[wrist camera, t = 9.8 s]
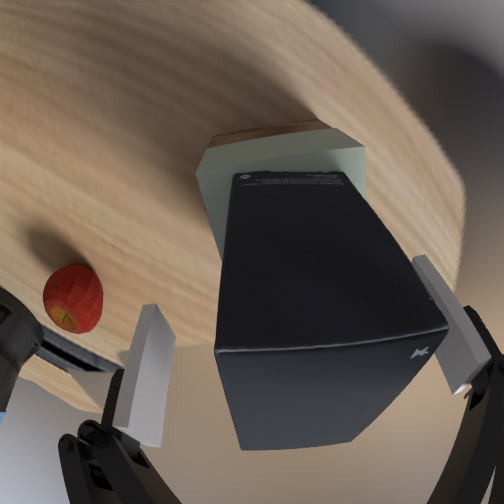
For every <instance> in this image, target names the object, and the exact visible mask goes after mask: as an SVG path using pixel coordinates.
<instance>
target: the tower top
mask: <svg viewBox="0 0 504 504" xmlns="http://www.w3.org/2000/svg"><path fill="white" fill-rule="evenodd" d="M266 170H267V171H271V172H284V171H287V172H318V171H321V172H330V171H338V172H342V171H343V172H345V174H346V175H347V176H348V178H349V179H350V181H351V182H352V183H353V184H354V186H355V187H356V189H357V190H358V191H359V192H360V194H361V195H362V196H363V198H364V199H366V171H365V146H363V145H362V144H360V143H359V142H357V141H356V140H354V139H353V138H351V137H350V136H348V135H347V134H345V133H343V132H342V131H340V130H339V129H337V128H332V129H322V130H313V131H304V132H297V133H289V134H282V135H276V136H269V137H263V138H258V139H252V140H246V141H241V142H236V143H231V144H226V145H221V146H217V147H212V148H208V149H206V151H205V153H204V155H203V157H202V159H201V162H200V164H199V166H198V168H197V170H196V172H195V174H196V178H197V181H198V185H199V188H200V191H201V195H202V198H203V202H204V205H205V208H206V212H207V215H208V218H209V222H210V225H211V228H212V231H213V235H214V238H215V241H216V244H217V248H218V251H219V254H220V257H221V260H223V251H224V242H225V232H226V223H227V213H228V207H229V198H230V192H231V185H232V178H233V175H234V174H236V173H247V172H254V171H266Z"/></svg>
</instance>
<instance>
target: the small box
mask: <svg viewBox="0 0 504 504" xmlns="http://www.w3.org/2000/svg"><path fill="white" fill-rule="evenodd" d="M449 330H450V326H449V323H448V322H447V320H446V318H445V316H444V314H443V313H442V311H441V310H440V309H439V308H438V306H437V305H436V303H435V301H434V299H433V297H432V295H431V294H430V292H429V291H428V289H427V287H426V286H425V284H424V283H423V281H422V279H421V277H420V275H419V274H418V272H417V271H416V270H415V268H414V267H413V265H412V263H411V262H410V260H409V259H408V257H407V256H406V254H405V253H404V252H403V250H402V249H401V247H400V245H399V244H398V242H397V241H396V240H395V238H394V237H393V236H392V234H391V233H390V231H389V230H388V229H387V228H386V227H385V225H384V224H383V222H382V221H381V219H380V218H379V217H378V215H377V214H376V213H375V212H374V210H373V209H372V208H371V207H370V205H369V204H368V203H367V201H366V200H365V199H364V198H363V196H362V195H361V194H360V192H359V191H358V190H357V189H356V187H355V186H354V184H353V183H352V182H351V181H350V179H349V178H348V176H347V175H346V174H345V172H343V171H342V172H338V171H330V172H321V171H318V172H287V171H284V172H271V171H267V170H266V171H254V172H247V173H236V174H234V175H233V178H232V185H231V192H230V198H229V207H228V213H227V223H226V232H225V242H224V251H223V260H222V270H221V279H220V289H219V300H218V312H217V324H216V339H215V346H214V355H215V359H216V363H217V366H218V371H219V375H220V378H221V381H222V385H223V389H224V392H225V396H226V399H227V403H228V406H229V410H230V413H231V416H232V420H233V424H234V427H235V431H236V434H237V438H238V441H239V444H240V448H241V450H282V449H297V448H309V447H318V446H326V445H333V444H340V443H345V442H351V441H352V440H353V439H355V438H356V437H357V436H358V435H359V434H360V433H361V432H362V431H363V430H364V429H365V428H366V427H367V426H369V425H370V424H371V423H372V422H373V421H374V420H375V419H376V418H377V417H378V416H379V415H380V414H381V413H382V412H383V411H384V410H385V409H386V408H387V407H388V406H389V405H390V404H391V403H392V402H393V401H394V400H395V398H396V397H397V396H398V395H399V394H400V393H401V392H402V391H403V390H404V389H405V388H406V386H407V385H408V384H409V383H410V382H411V381H412V379H413V378H414V377H415V376H416V375H417V373H418V372H419V371H420V370H421V369H422V367H423V366H424V365H425V364H426V362H427V361H428V360H429V359H430V357H431V356H432V355H433V353H434V352H435V351H436V349H437V348H438V347H439V346H440V344H441V343H442V341H443V340H444V338H445V337H446V336H447V334H448V332H449Z"/></svg>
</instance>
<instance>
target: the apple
mask: <svg viewBox="0 0 504 504" xmlns="http://www.w3.org/2000/svg"><path fill="white" fill-rule="evenodd" d="M43 302H44V307H45V310H46V313H47V314H48V316H49V317H50V319H51V320H52V321H53V322H54V323H55V324H56V325H57V326H59V327H60V328H62V329H63V330H66V331H69V332H71V333H76V334H81V333H86V332H90V331H91V330H92V329H93V328H94V327H95V326H96V324H97V323H98V321H99V320H100V317H101V315H102V306H103V289H102V285H101V282H100V280H99V278H98V277H97V276H96V275H95V274H94V272H92V271H91V270H89V269H88V268H87V267H84V266H81V265H75V264H72V265H68V266H65V267H63V268H60V269H59V270H57V271H56V272H54V273H53V274H52V275H51V276H50V277H49V279H48V280H47V282H46V285H45V287H44V291H43Z"/></svg>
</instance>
